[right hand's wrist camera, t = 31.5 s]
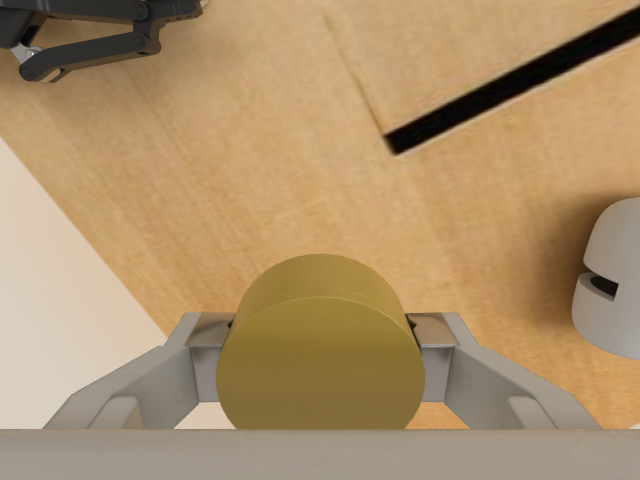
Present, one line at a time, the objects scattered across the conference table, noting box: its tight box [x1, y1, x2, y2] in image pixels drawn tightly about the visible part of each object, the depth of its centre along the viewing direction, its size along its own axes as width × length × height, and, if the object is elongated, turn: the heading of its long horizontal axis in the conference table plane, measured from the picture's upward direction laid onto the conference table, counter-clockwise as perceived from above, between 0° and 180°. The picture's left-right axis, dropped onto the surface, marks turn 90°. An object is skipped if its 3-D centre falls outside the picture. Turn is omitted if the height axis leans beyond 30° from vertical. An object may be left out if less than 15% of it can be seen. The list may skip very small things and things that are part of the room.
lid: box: [216, 254, 425, 429], centre depth 10 cm, size 5×5×2 cm
